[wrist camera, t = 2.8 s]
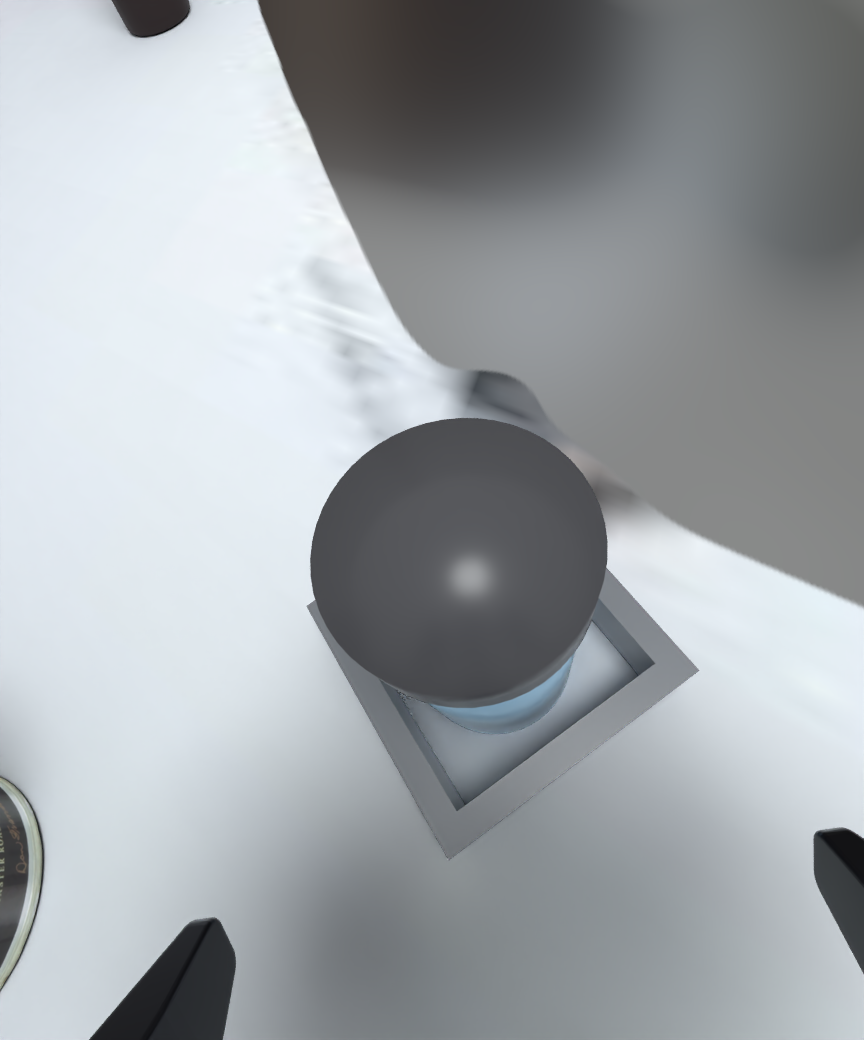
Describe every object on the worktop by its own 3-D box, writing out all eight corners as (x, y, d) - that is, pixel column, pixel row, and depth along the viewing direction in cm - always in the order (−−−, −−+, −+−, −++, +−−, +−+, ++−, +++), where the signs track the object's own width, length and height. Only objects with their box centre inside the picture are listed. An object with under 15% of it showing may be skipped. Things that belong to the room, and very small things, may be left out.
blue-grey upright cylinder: (472, 775, 21) (405, 767, 11) (384, 634, 24) (264, 518, 14) (611, 673, 22) (678, 569, 11) (509, 548, 25) (486, 374, 15)
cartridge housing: (460, 850, 20) (448, 860, 18) (331, 625, 25) (306, 606, 22) (679, 684, 22) (699, 670, 19) (516, 498, 26) (514, 465, 23)
